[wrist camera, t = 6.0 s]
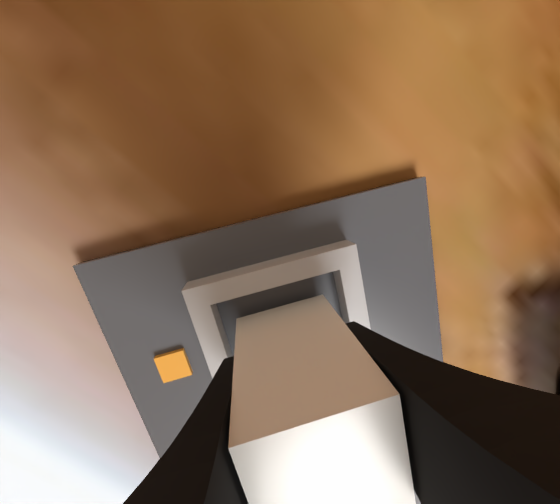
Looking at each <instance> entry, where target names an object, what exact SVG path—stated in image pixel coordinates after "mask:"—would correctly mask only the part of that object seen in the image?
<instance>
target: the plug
mask: <svg viewBox="0 0 560 504" xmlns="http://www.w3.org/2000/svg"><path fill="white" fill-rule="evenodd" d="M228 449H229V452H230V455H231V457H232V460H233V463H234V466H235V468H236V471H237V474H238V476H239V479H240V482H241V485H242V487H243V490H244V493H245V496H246V498H247V501H248V504H416V501H415V494H414V487H413V481H412V474H411V467H410V460H409V454H408V447H407V440H406V434H405V427H404V420H403V413H402V407H401V400H400V394H399V393H398V391H397V390H396V389H395V388H394V386H393V385H392V384H391V382H390V381H389V380H388V378H387V377H386V376H385V375H384V373H383V372H382V371H381V369H380V368H379V367H378V365H377V364H376V363H375V362H374V360H373V359H372V358H371V356H370V355H369V354H368V353H367V351H366V350H365V349H364V347H363V346H362V345H361V343H360V342H359V341H358V340H357V338H356V337H355V336H354V334H353V333H352V332H351V330H350V329H349V328H348V327H347V325H346V324H345V323H344V321H343V320H342V319H341V318H340V316H339V315H338V314H337V312H336V311H335V310H334V308H333V307H332V306H331V305H330V303H329V302H328V301H327V299H326V298H325V297H324V295H323V294H322V295H319V296H315V297H312V298H308V299H304V300H301V301H297V302H294V303H290V304H287V305H283V306H279V307H276V308H272V309H269V310H265V311H262V312H258V313H255V314H251V315H247V316H244V317H240V318H237V319H236V334H235V350H234V366H233V381H232V397H231V413H230V428H229V444H228Z"/></svg>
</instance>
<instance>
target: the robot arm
mask: <svg viewBox="0 0 560 504" xmlns="http://www.w3.org/2000/svg"><path fill="white" fill-rule="evenodd" d="M345 324H346V325H347V327H348V328H349V329H350V330H351V332H352V333H353V334H354V336H355V337H356V338H357V340H358V341H359V342H360V343H361V345H362V346H363V347H364V349H365V350H366V351H367V353H368V354H369V355H370V356H371V358H372V359H373V360H374V362H375V363H376V364H377V365H378V367H379V368H380V369H381V371H382V372H383V373H384V375H385V376H386V377H387V378H388V380H389V381H390V382H391V384H392V385H393V386H394V388H395V389H396V390H397V391H398V393H399V394H400V400H401V407H402V413H403V420H404V427H405V434H406V440H407V447H408V454H409V460H410V467H411V474H412V481H413V487H414V491H415V493H416V495H417V497H418V499H419V500H420V502H421V504H560V395H556V394H551V393H547V392H543V391H539V390H534V389H530V388H526V387H523V386H519V385H515V384H511V383H508V382H504V381H500V380H496V379H493V378H490V377H486V376H483V375H479V374H476V373H473V372H470V371H467V370H464V369H461V368H458V367H455V366H452V365H449V364H447V363H444V362H441V361H439V360H436V359H434V358H431V357H429V356H426V355H424V354H421V353H419V352H417V351H414V350H412V349H410V348H407V347H405V346H403V345H401V344H399V343H397V342H394V341H392V340H390V339H388V338H386V337H384V336H382V335H380V334H378V333H376V332H374V331H372V330H370V329H368V328H367V327H365V326H363V325H361V324H359V323H357V322H354V321H352V322H349V323H345ZM233 366H234V356H232V357H228V358H225V359H224V360H223V361H222V363H221V365H220V366H219V368H218V370H217V372H216V373H215V375H214V377H213V379H212V381H211V382H210V384H209V386H208V388H207V389H206V391H205V393H204V394H203V396H202V398H201V399H200V401H199V403H198V404H197V406H196V408H195V409H194V411H193V412H192V414H191V416H190V417H189V419H188V420H187V422H186V423H185V425H184V426H183V428H182V429H181V431H180V432H179V434H178V435H177V437H176V438H175V439H174V441H173V442H172V444H171V445H170V446H169V448H168V449H167V450H166V452H165V453H164V454H163V456H162V457H161V458H160V460H159V461H158V462H157V463H156V465H155V466H154V467H153V469H152V470H151V471H150V472H149V474H148V475H147V476H146V477H145V479H144V480H143V481H142V482H141V483H140V485H139V486H138V487H137V488H136V489H135V490H134V491H133V493H132V494H131V495H130V496H129V497H128V498H127V500H126V501H125V502H124V503H123V504H248V501H247V498H246V496H245V493H244V490H243V487H242V485H241V482H240V479H239V476H238V474H237V471H236V468H235V466H234V463H233V460H232V457H231V455H230V452H229V449H228V444H229V428H230V413H231V397H232V381H233Z"/></svg>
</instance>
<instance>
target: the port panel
mask: <svg viewBox="0 0 560 504" xmlns="http://www.w3.org/2000/svg"><path fill="white" fill-rule="evenodd" d="M73 268H74V270H75V272H76V274H77V277H78V279H79V281H80V283H81V285H82V288H83V290H84V292H85V294H86V296H87V299H88V301H89V303H90V305H91V307H92V310H93V312H94V314H95V316H96V318H97V321H98V323H99V325H100V327H101V329H102V332H103V334H104V336H105V338H106V341H107V343H108V345H109V347H110V349H111V352H112V354H113V356H114V358H115V360H116V363H117V365H118V367H119V369H120V371H121V374H122V376H123V378H124V380H125V382H126V385H127V387H128V389H129V391H130V393H131V396H132V398H133V400H134V402H135V404H136V407H137V409H138V411H139V413H140V415H141V418H142V420H143V422H144V424H145V426H146V429H147V431H148V433H149V435H150V437H151V440H152V442H153V444H154V446H155V448H156V451H157V453H158V455H159V457H160V458H161V457H162V456H163V454H164V453H165V452H166V450H167V449H168V448H169V446H170V445H171V444H172V442H173V441H174V439H175V438H176V437H177V435H178V434H179V432H180V431H181V429H182V428H183V426H184V425H185V423H186V422H187V420H188V419H189V417H190V416H191V414H192V412H193V411H194V409H195V408H196V406H197V404H198V403H199V401H200V399H201V398H202V396H203V394H204V393H205V391H206V389H207V388H208V386H209V384H210V382H211V381H212V379H213V377H214V375H215V373H216V372H217V370H218V368H219V366H220V365H221V363H222V361H223V360H224V359H225V358H228V357H232V356H234V350H235V334H236V319H237V318H240V317H244V316H247V315H251V314H255V313H258V312H262V311H265V310H269V309H272V308H276V307H279V306H283V305H287V304H290V303H294V302H297V301H301V300H304V299H308V298H312V297H315V296H319V295H322V294H323V295H324V297H325V298H326V299H327V301H328V302H329V303H330V305H331V306H332V307H333V308H334V310H335V311H336V312H337V314H338V315H339V316H340V318H341V319H342V320H343V321H344V323H349V322H352V321H354V322H357V323H359V324H361V325H363V326H365V327H367V328H368V329H370V330H372V331H374V332H376V333H378V334H380V335H382V336H384V337H386V338H388V339H390V340H392V341H394V342H397V343H399V344H401V345H403V346H405V347H407V348H410V349H412V350H414V351H417V352H419V353H421V354H424V355H426V356H429V357H431V358H434V359H436V360H439V361H441V362H443V355H442V344H441V334H440V323H439V313H438V303H437V292H436V282H435V271H434V261H433V250H432V240H431V229H430V219H429V208H428V198H427V187H426V177H417V178H413V179H409V180H405V181H401V182H397V183H393V184H389V185H385V186H382V187H378V188H374V189H370V190H366V191H362V192H358V193H354V194H350V195H346V196H342V197H338V198H334V199H330V200H326V201H322V202H318V203H314V204H310V205H306V206H302V207H298V208H295V209H291V210H287V211H283V212H279V213H275V214H271V215H267V216H263V217H259V218H255V219H251V220H247V221H243V222H239V223H235V224H231V225H227V226H223V227H219V228H215V229H211V230H208V231H204V232H200V233H196V234H192V235H188V236H184V237H180V238H176V239H172V240H168V241H164V242H160V243H156V244H152V245H148V246H144V247H140V248H136V249H132V250H128V251H125V252H121V253H117V254H113V255H109V256H105V257H101V258H97V259H93V260H89V261H85V262H81V263H79V264H76V265H74V266H73ZM414 494H415V501H416V504H421V502H420V500H419V499H418V497H417V495H416V493H415V491H414Z"/></svg>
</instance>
